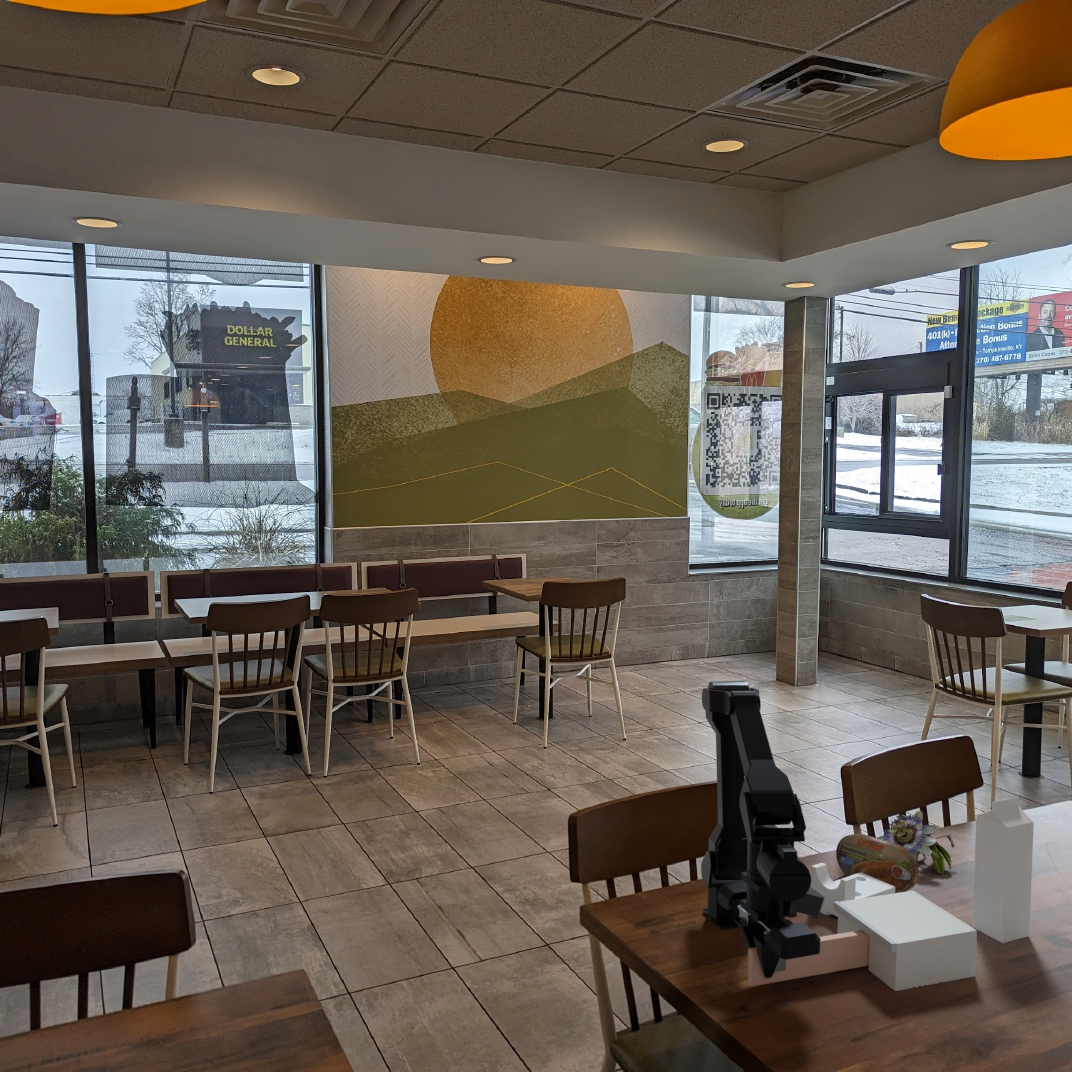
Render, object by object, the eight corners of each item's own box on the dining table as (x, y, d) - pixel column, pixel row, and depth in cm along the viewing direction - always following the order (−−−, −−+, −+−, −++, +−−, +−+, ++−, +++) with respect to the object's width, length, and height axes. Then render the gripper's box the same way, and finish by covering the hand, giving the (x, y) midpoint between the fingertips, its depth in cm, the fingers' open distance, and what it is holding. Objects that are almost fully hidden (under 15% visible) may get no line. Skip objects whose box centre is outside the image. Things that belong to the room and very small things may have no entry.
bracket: (843, 925, 158) (845, 881, 157) (810, 908, 164) (811, 865, 163) (894, 906, 165) (895, 864, 164) (860, 891, 171) (861, 850, 170)
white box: (890, 992, 137) (892, 944, 137) (832, 945, 150) (833, 901, 150) (975, 976, 141) (976, 929, 141) (911, 932, 155) (913, 889, 154)
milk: (1029, 937, 154) (1036, 803, 152) (1002, 944, 151) (1008, 808, 150) (997, 920, 159) (1003, 791, 158) (970, 927, 157) (976, 795, 155)
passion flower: (899, 895, 181) (862, 836, 184) (927, 869, 188) (891, 813, 191) (944, 880, 173) (905, 819, 176) (972, 854, 179) (934, 796, 183)
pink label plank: (752, 986, 138) (752, 952, 137) (747, 981, 139) (748, 948, 138) (881, 963, 144) (882, 931, 144) (876, 959, 145) (877, 927, 145)
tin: (834, 873, 177) (835, 829, 177) (843, 869, 179) (845, 825, 179) (911, 901, 166) (912, 854, 165) (920, 896, 168) (921, 850, 167)
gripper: (855, 889, 131) (852, 999, 132) (780, 839, 149) (778, 936, 150) (784, 900, 128) (782, 1013, 129) (716, 848, 146) (715, 947, 147)
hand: (765, 974), depth 139 cm, fingers closed on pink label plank
